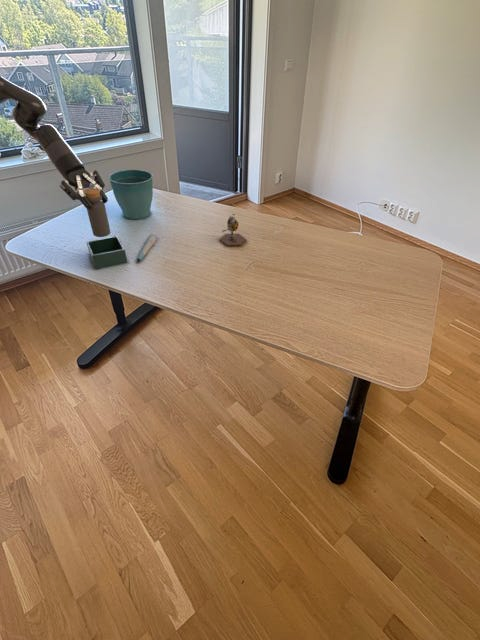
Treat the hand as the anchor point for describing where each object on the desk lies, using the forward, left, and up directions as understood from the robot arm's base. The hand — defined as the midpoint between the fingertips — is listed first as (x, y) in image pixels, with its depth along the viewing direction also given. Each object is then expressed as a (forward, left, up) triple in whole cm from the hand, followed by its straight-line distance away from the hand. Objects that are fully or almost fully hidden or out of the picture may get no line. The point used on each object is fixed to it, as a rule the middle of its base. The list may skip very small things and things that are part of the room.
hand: (98, 204), depth 114 cm
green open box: (-1, +1, -21) cm, 21 cm away
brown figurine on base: (+48, -5, -21) cm, 53 cm away
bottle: (-1, +2, -11) cm, 11 cm away
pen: (+14, +2, -21) cm, 26 cm away
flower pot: (+19, +35, -21) cm, 45 cm away
